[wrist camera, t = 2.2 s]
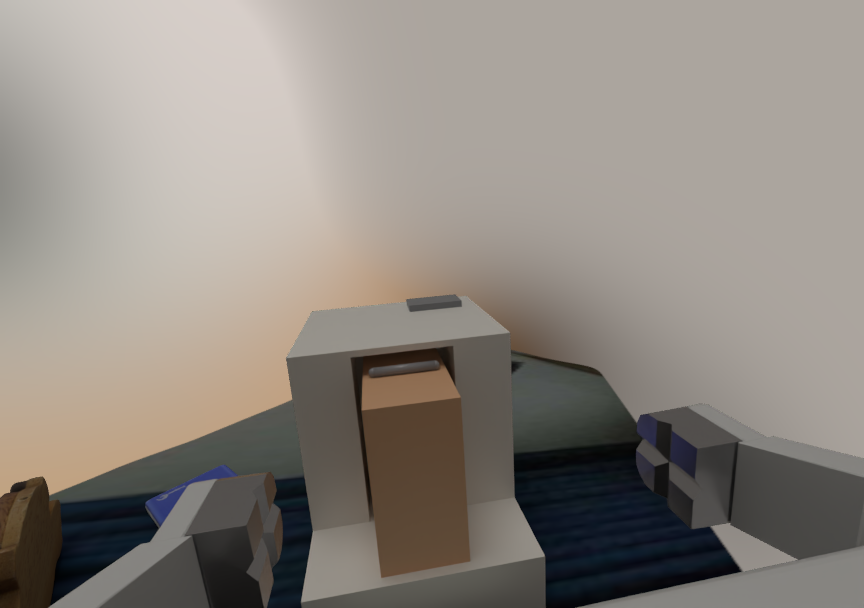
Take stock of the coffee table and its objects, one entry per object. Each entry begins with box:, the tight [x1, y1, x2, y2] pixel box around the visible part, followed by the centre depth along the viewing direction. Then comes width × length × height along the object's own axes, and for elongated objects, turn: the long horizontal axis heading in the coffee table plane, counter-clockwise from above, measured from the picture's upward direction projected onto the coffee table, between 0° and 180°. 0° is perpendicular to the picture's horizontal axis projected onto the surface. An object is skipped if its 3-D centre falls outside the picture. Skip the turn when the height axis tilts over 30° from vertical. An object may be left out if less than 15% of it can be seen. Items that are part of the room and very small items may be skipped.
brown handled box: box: [362, 348, 470, 578], centre depth 31 cm, size 6×10×13 cm, turn 9°
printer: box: [286, 295, 546, 608], centre depth 36 cm, size 16×20×20 cm
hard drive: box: [145, 465, 238, 528], centre depth 42 cm, size 2×8×12 cm
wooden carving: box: [0, 477, 62, 608], centre depth 31 cm, size 16×5×10 cm, turn 38°
